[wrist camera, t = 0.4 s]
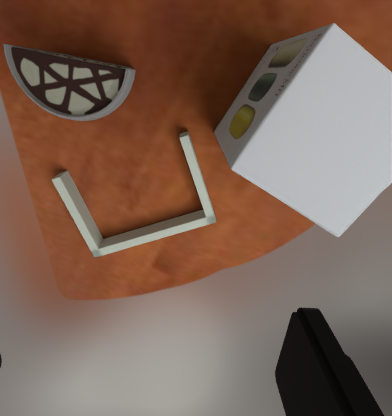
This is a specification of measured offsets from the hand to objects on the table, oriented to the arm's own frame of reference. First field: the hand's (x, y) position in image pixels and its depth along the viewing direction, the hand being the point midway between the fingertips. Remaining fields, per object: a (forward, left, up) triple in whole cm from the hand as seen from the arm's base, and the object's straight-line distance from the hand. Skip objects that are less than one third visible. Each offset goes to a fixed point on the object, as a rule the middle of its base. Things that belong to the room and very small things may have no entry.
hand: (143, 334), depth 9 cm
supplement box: (+2, +14, -35) cm, 38 cm away
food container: (-9, -8, -35) cm, 37 cm away
